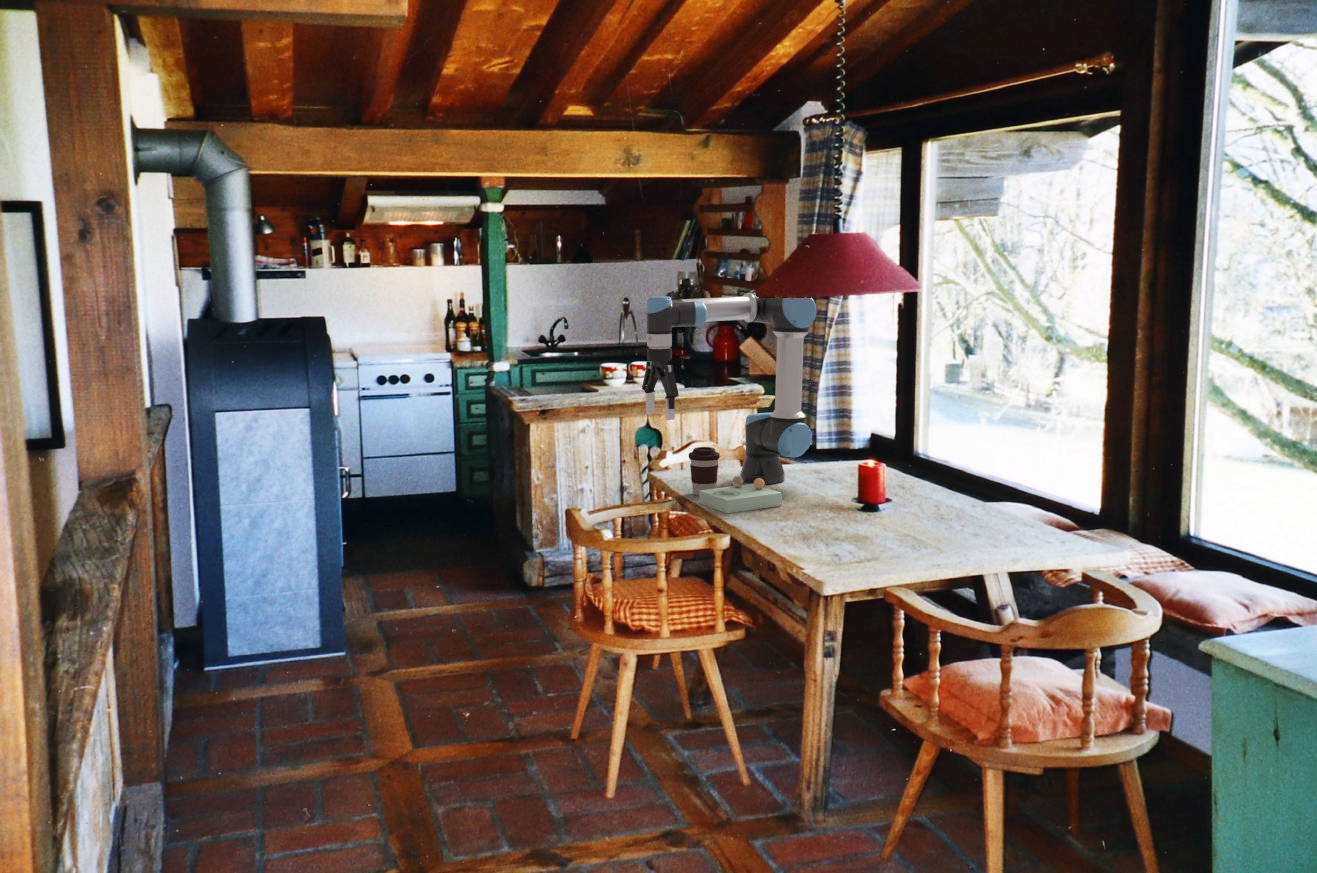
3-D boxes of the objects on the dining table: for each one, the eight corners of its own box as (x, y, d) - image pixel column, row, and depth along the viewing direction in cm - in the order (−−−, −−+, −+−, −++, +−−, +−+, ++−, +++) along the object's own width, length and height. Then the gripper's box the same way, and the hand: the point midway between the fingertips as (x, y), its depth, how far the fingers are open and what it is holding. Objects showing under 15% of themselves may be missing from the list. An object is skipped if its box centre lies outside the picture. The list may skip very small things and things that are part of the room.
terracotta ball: (760, 487, 360) (760, 476, 359) (766, 489, 357) (766, 478, 356) (751, 488, 358) (751, 477, 357) (757, 490, 355) (757, 479, 354)
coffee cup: (720, 491, 374) (720, 446, 371) (718, 497, 364) (718, 451, 361) (689, 490, 374) (689, 445, 372) (687, 497, 365) (687, 451, 362)
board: (752, 495, 366) (752, 483, 366) (781, 505, 353) (781, 492, 352) (699, 503, 357) (699, 490, 356) (727, 513, 343) (727, 500, 342)
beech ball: (739, 485, 363) (739, 474, 362) (745, 487, 360) (745, 476, 359) (730, 486, 361) (730, 475, 361) (736, 488, 358) (736, 477, 358)
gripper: (630, 345, 357) (631, 412, 361) (667, 351, 335) (667, 423, 339) (652, 343, 360) (653, 410, 364) (689, 350, 338) (690, 421, 342)
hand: (660, 416), depth 351 cm, fingers open, 13 cm apart
